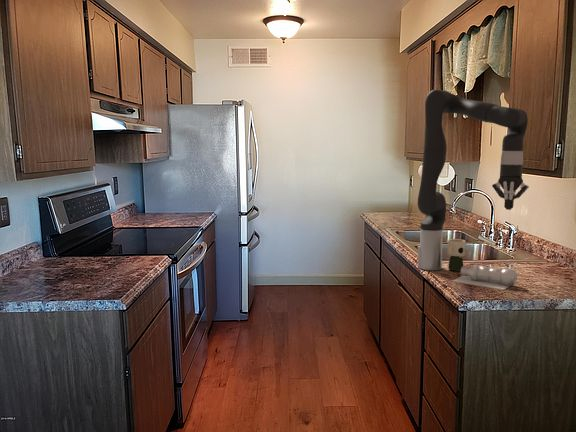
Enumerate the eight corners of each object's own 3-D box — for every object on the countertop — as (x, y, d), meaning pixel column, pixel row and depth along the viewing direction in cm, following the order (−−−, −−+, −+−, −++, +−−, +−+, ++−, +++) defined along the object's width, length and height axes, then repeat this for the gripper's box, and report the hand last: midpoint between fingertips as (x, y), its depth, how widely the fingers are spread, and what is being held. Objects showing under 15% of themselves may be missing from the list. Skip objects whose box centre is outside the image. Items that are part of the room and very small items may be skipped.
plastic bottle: (512, 285, 173) (458, 276, 186) (517, 288, 178) (463, 280, 191) (515, 267, 174) (460, 260, 187) (519, 271, 179) (466, 264, 192)
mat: (452, 281, 186) (452, 280, 186) (462, 276, 193) (462, 275, 193) (503, 290, 173) (504, 289, 173) (512, 284, 181) (512, 283, 181)
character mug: (457, 274, 197) (458, 243, 195) (441, 271, 202) (442, 241, 200) (469, 269, 204) (470, 239, 202) (454, 266, 209) (455, 237, 208)
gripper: (489, 163, 179) (487, 209, 181) (527, 164, 170) (524, 212, 173) (496, 162, 184) (494, 207, 187) (533, 163, 176) (530, 209, 178)
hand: (508, 209), depth 180 cm, fingers closed
